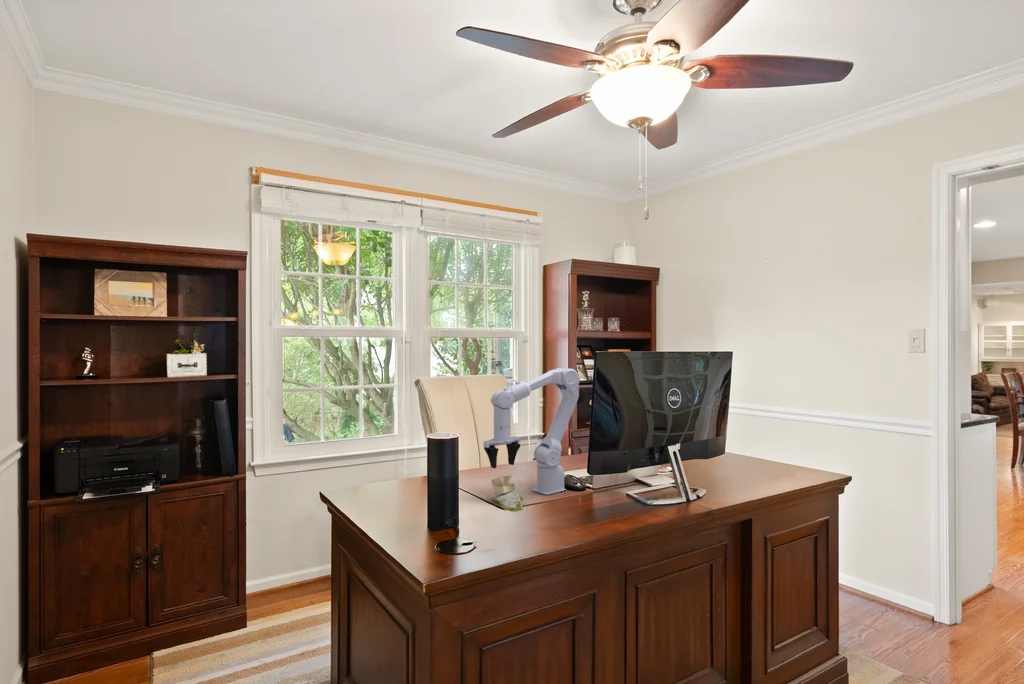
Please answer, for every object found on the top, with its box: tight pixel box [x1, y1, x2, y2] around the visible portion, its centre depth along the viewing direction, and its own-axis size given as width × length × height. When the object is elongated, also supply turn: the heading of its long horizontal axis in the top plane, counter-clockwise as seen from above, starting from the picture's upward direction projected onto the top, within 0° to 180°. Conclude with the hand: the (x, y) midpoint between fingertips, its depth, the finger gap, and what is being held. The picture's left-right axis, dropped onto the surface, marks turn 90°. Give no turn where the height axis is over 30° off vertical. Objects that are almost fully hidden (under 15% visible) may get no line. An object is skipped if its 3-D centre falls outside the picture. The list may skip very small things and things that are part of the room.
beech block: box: [490, 473, 516, 496], centre depth 186 cm, size 5×5×5 cm
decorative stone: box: [492, 489, 524, 512], centre depth 186 cm, size 23×10×4 cm, turn 4°
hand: (502, 466), depth 192 cm, fingers open, 7 cm apart
